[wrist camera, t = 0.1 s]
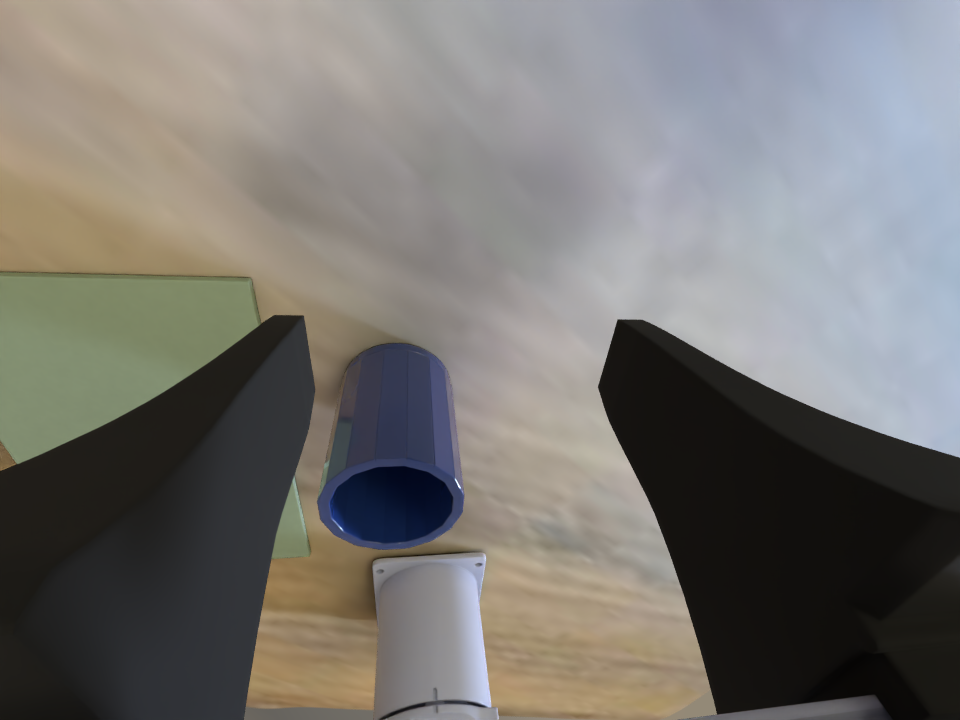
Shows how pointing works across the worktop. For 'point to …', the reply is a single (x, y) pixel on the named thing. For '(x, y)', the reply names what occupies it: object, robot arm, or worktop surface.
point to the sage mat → (114, 355)
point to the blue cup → (392, 451)
